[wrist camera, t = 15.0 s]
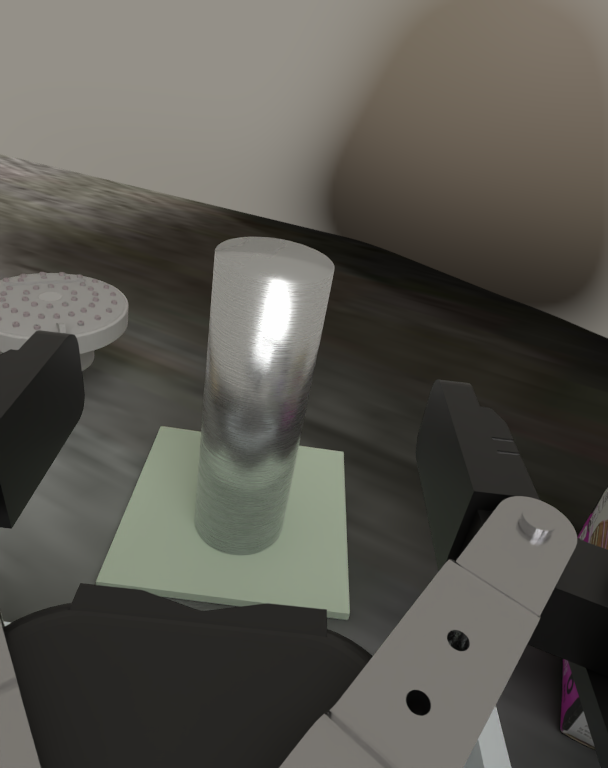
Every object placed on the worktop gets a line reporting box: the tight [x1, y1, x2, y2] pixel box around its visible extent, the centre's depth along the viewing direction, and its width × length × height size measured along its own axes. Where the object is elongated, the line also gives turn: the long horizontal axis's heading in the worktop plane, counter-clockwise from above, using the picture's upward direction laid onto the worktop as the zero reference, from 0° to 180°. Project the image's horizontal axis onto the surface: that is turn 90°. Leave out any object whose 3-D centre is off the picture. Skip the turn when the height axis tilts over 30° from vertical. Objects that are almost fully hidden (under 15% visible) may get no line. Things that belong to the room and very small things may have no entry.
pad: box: [96, 426, 350, 620], centre depth 31 cm, size 12×12×1 cm
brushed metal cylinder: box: [194, 237, 334, 555], centre depth 26 cm, size 5×5×15 cm
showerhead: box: [0, 272, 128, 371], centre depth 37 cm, size 9×7×10 cm
